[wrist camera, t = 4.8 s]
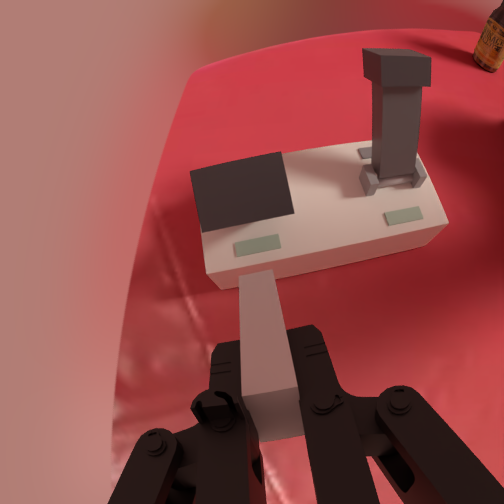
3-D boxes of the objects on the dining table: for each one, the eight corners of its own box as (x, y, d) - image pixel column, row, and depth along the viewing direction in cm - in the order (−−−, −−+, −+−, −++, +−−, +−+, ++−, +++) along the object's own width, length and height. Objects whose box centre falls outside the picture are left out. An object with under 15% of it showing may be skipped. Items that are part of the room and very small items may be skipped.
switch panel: (425, 245, 29) (458, 213, 22) (221, 290, 30) (199, 267, 23) (394, 168, 33) (414, 124, 25) (209, 202, 34) (188, 160, 26)
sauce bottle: (466, 55, 40) (492, -19, 21) (481, 54, 40) (506, -14, 22) (488, 76, 38) (521, 1, 19) (502, 74, 38) (533, 6, 19)
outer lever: (280, 217, 25) (294, 213, 14) (226, 228, 25) (202, 232, 14) (272, 181, 25) (281, 151, 14) (219, 192, 25) (189, 171, 14)
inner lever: (421, 176, 23) (431, 57, 16) (378, 182, 24) (380, 55, 16) (405, 159, 26) (409, 49, 18) (364, 164, 26) (362, 48, 18)
